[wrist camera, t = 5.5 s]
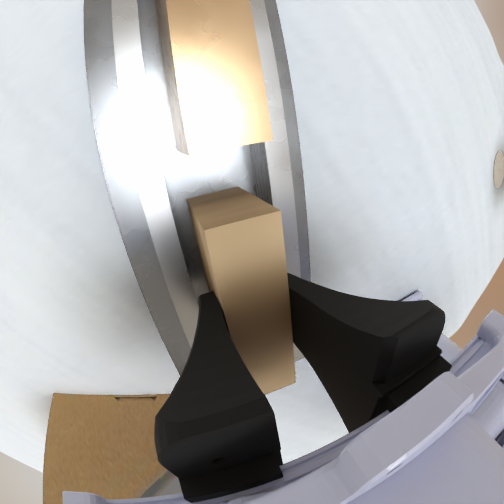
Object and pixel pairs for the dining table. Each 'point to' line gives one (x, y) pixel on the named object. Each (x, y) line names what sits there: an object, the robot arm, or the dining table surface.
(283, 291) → the tan rectangular block
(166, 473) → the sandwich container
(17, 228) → the dining table surface
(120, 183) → the track
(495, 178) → the wineglass
